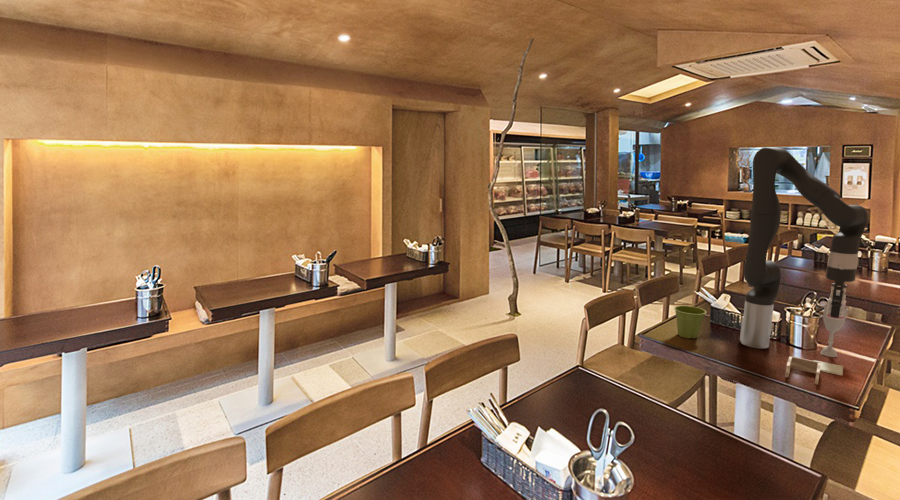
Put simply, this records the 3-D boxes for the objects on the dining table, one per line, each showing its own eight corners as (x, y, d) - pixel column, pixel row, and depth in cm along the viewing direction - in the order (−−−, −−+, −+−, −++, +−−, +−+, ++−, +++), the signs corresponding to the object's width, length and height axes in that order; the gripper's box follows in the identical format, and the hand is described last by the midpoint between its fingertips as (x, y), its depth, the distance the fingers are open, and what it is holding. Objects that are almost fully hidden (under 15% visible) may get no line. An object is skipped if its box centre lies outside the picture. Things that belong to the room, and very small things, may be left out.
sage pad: (813, 361, 166) (813, 360, 166) (842, 367, 161) (843, 366, 160) (812, 369, 160) (812, 367, 160) (842, 375, 155) (842, 374, 154)
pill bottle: (847, 320, 154) (850, 296, 152) (830, 319, 155) (834, 295, 153) (838, 315, 159) (842, 292, 157) (822, 315, 160) (825, 291, 158)
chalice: (838, 352, 173) (845, 306, 170) (844, 359, 167) (851, 311, 164) (814, 349, 176) (820, 303, 173) (819, 356, 170) (825, 308, 167)
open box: (788, 366, 162) (789, 355, 161) (819, 373, 156) (821, 362, 156) (785, 376, 154) (786, 365, 153) (817, 384, 149) (819, 372, 148)
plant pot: (705, 342, 184) (707, 315, 182) (671, 338, 189) (674, 311, 187) (703, 333, 194) (705, 307, 192) (671, 329, 199) (674, 304, 197)
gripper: (828, 260, 161) (821, 308, 164) (826, 267, 151) (819, 318, 154) (856, 263, 157) (849, 312, 160) (857, 271, 146) (849, 323, 149)
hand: (834, 314), depth 157 cm, fingers closed on pill bottle, 4 cm apart
